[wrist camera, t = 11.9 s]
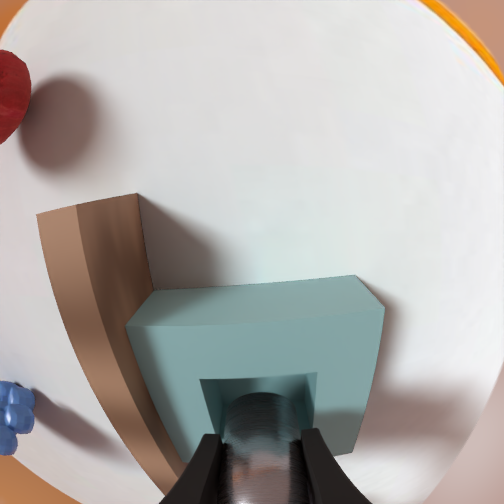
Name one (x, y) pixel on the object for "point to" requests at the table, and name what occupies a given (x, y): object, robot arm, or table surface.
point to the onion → (12, 93)
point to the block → (259, 354)
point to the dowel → (262, 452)
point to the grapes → (14, 415)
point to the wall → (109, 318)
